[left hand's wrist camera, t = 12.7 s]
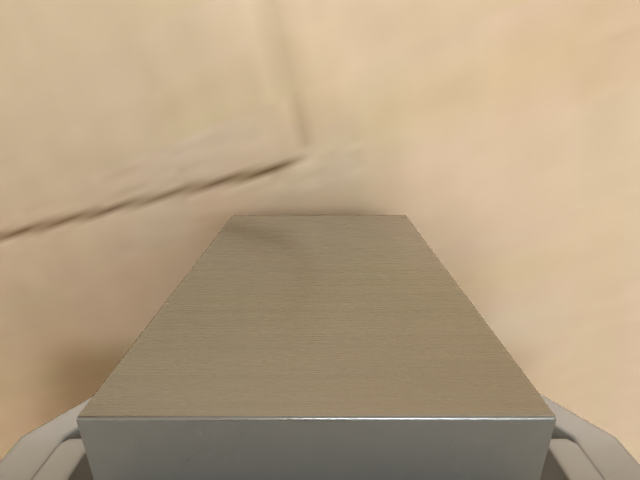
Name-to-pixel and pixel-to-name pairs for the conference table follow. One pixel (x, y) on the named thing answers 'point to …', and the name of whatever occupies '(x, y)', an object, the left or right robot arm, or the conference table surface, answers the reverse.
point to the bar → (317, 367)
